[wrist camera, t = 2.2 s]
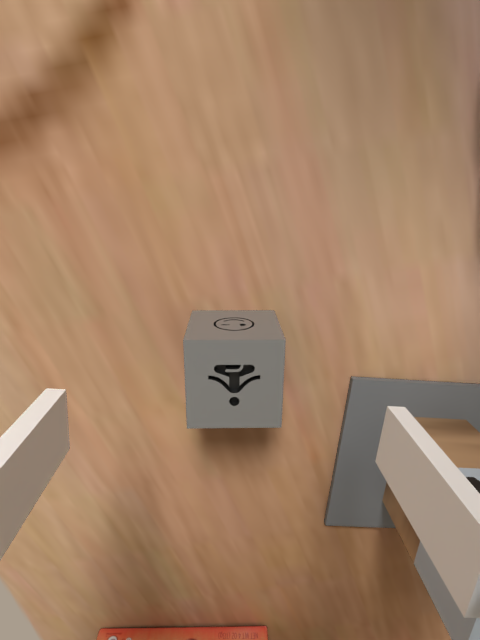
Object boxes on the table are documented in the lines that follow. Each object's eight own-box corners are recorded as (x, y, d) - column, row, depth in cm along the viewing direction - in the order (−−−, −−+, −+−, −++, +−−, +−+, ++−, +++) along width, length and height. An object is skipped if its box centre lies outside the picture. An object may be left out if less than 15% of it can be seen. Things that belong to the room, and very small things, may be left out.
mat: (351, 376, 25) (352, 379, 25) (527, 386, 26) (531, 389, 25) (324, 521, 29) (325, 525, 29) (478, 527, 30) (482, 531, 29)
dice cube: (274, 310, 24) (285, 339, 19) (271, 383, 25) (281, 427, 21) (192, 310, 24) (183, 340, 19) (194, 383, 25) (186, 428, 20)
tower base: (402, 416, 26) (441, 466, 21) (466, 419, 26) (519, 470, 21) (382, 500, 28) (413, 563, 23) (441, 502, 28) (484, 565, 23)
